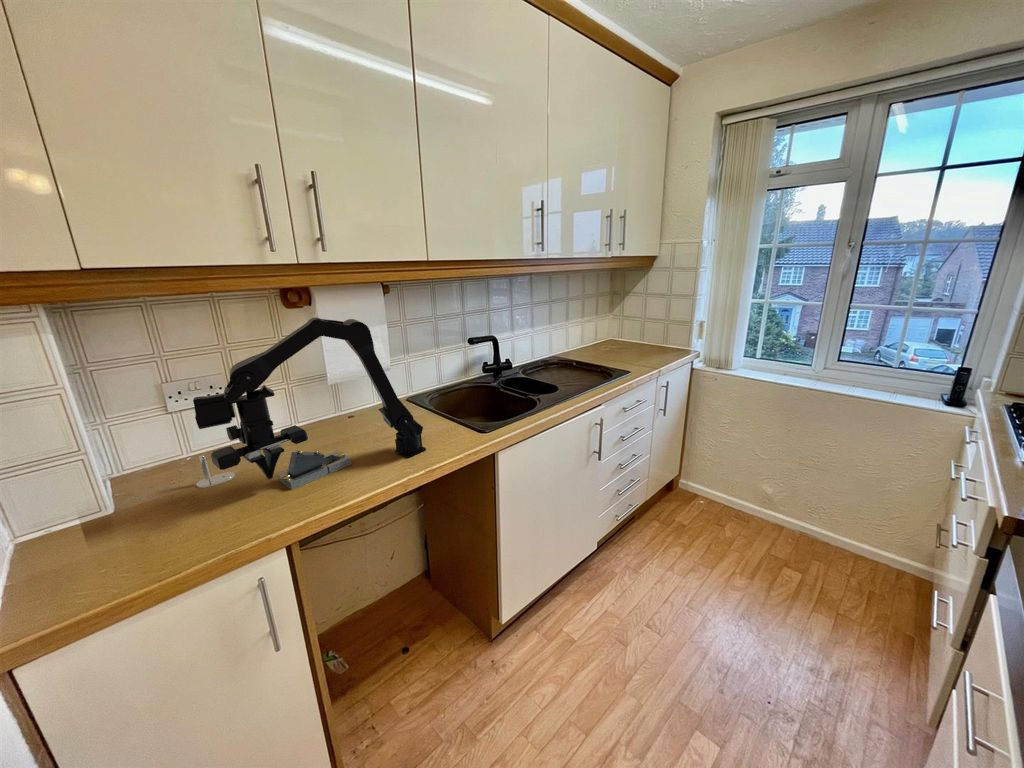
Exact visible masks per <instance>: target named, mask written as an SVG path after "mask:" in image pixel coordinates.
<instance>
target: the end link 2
mask: <svg viewBox="0 0 1024 768" xmlns="http://www.w3.org/2000/svg"><path fill="white" fill-rule="evenodd" d="M351 465H352V459H351V457H349V456H348V455H346V453H345V451H339V450H336V451H333V452H331V453H328V454H324V459H323V463H322V467H324V466H326V467H327V468H328V474H333V473H335V472H337V471H340V470H342V469H344V468H347V467H349V466H351Z"/></svg>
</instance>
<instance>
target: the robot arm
mask: <svg viewBox="0 0 1024 768" xmlns="http://www.w3.org/2000/svg"><path fill="white" fill-rule="evenodd" d="M320 337H325V338H331V339H337V340H342V341H345V343H346V344H347V345H348V346H349V347H350V349H351V350H352V351H353V353H354V354H355V355H356V356H357V357H358V359H359V360H360V363H361V364H362V367H363V368H364V370H365V372H366V374H367V376H368V378H369V379H370V381H371V384H372V386H373V387H374V389H375V391H376V392H377V394H378V396H379V399H380V400H381V403H382V407H381V408H379V409H378V411H379V413H380V414H381V415H382V418H383V421H384V422H385V423H386V425H388V426H389V428H391V429H394V430H395V431H396V433H395V440H394V441H395V449H394V453H396V454H398V455H400V456H403V457H405V458H406V459H408V458H409V459H410V458H411V457H414V456H416V455H418V454H421V453H422V452H424V451H427V448H426V447H425V446H423V439H422V434H423V430H424V427H423V426H422V425H421V423H419V422H418V421H417V420H416V419H415V418H414V416H413V414H412V413H411V412H410V411H409V409H408V408H407V407H406V406H405V404H404V403H403V402H402V401H401V400H400V399H399V398H398V395H397V394H396V392H395V389H394V387H393V386H392V384H391V381H390V380H389V378H388V376H387V374H386V372H385V370H384V368H383V366H382V364H381V362H380V359H379V358H378V356H377V354H376V352H375V345H374V344H375V343H374V339H373V336H372V333H371V330H370V328H369V327H368V325H367V324H366V323H364V322H362V321H360V320H357V319H354V318H349V319H346V320H344V321H342V320H335V319H325V318H320V317H311V318H310V319H308V320H307V322H306V323H304V324H302V325H301V326H300V327H298V328H296V329H295V330H294V331H292V332H291V333H289V334H288V335H286V336H285V337H283V338H282V339H281V340H279V341H278V342H276V343H275V344H273V345H272V346H270V347H269V348H268V349H265V351H263V352H260V353H258V354H256V355H252V356H250V357H247V358H245V359H243V360H240V361H238V362H237V363H235V364H234V365H233V366H231V368H230V371H229V381H228V383H227V384H226V386H225V387H224V390H223V393H218V394H212V395H206V396H204V395H203V396H195V397H194V398H193V399H192V401H193V405H194V407H193V408H194V413H195V417H194V418H195V422H196V425H197V427H198V429H199V430H202V429H207V428H213V427H214V428H215V427H218V426H224V425H229V424H231V423H232V421H233V419H234V418H237V417H236V411H235V406H234V404H235V405H236V408H237V412H238V416H239V419H240V422H239V426H240V428H239V427H238V425H236V424H235V425H232V426H228V427H226V428H225V429H226V430H225V431H226V433H227V437H228V440H229V441H230V442H231V441H235V440H238V441H239V442H241V444H243V445H246V446H243V447H239V448H236V449H235V448H234V447H233V446H231V445H228V446H226V447H222V448H220V449H216V450H213V451H212V453H211V455H210V457H211V458H210V459H211V462H212V464H213V465H214V466H215V467H216V468H217V469H219V471H225V470H227V469H230V468H233V467H236V466H239V464H240V463H241V460H242V459H241V458H243V459H245V460H246V461H247V462H248V463H251V464H253V463H255V464H256V465H257V468H259V469H260V471H261V472H262V473H263V474H264V476H265V478H266V479H267V480H271V479H273V476H274V473H275V470H276V467H277V463H278V461H279V459H280V456H281V454H282V453H284V452H285V448H283V447H282V444H283V443H285V442H289V441H290V442H291V443H293V444H295V445H298V444H301V443H305V442H306V441H308V439H309V437H308V432H307V431H306V429H304V428H301V427H300V426H297V425H295V424H294V425H291V426H287V427H285V428H282V429H281V430H280V432H279V433H280V434H278V435H276V436H275V434H274V429H273V426H274V421H273V420H271V415H270V412H269V407H268V402H267V398H270V397H271V398H272V397H274V396H275V392H274V390H273V389H271V388H270V387H268V386H266V384H264V382H265V381H266V380H268V378H269V377H270V376H271V375H272V374H273V372H274V371H275V370H276V369H277V368H278V367H279V366H280V365H282V364H283V363H284V362H286V361H287V360H289V359H291V357H293V356H295V355H296V354H297V353H299V352H300V351H302V350H303V349H304V348H306V347H308V345H310V344H312V343H313V342H314V341H316V340H317V339H319V338H320ZM262 384H263V385H262ZM259 387H260V388H259ZM258 388H259V389H258ZM261 450H262V452H263V454H262V453H261Z"/></svg>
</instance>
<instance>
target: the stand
mask: <svg viewBox="0 0 1024 768" xmlns="http://www.w3.org/2000/svg"><path fill="white" fill-rule="evenodd" d="M198 458H199V461H200V466H201V469H202V473H203V477H204V478H202V479H201V480H199V481H197V483H196V487H197V489H205V488H209V487H213V486H216V485H220V484H223V483H227V482H228V481H231V480H232V479H233V478H235V476H236V475H235V473H234V472H231V471H227V472H221V473H218V474H216V475H212V476H211V473H210V470H209V466H208V462H207V461H208V460H207V457H206V456H205V455H198Z"/></svg>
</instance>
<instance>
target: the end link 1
mask: <svg viewBox="0 0 1024 768" xmlns="http://www.w3.org/2000/svg"><path fill="white" fill-rule="evenodd" d="M277 475H278V476H277V477H278V480H279V481H280V482H281V483H282V484H283V485H284V486H286V487H287V488H289V489H290V490H295V489H297V488H300V487H303V486H304V485H306V484H308V483H311V482H314V481H316V480H319V479H321V478H323V477H325V476H328V475H329V473H328V468H327V465H323V466H322V467H321V468H319V469H316V470H314V471H311V472H309V473H306V474H303V475H292V474H291V473H289V472H288V469H287V470H284V471H281V472H278V474H277Z"/></svg>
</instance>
